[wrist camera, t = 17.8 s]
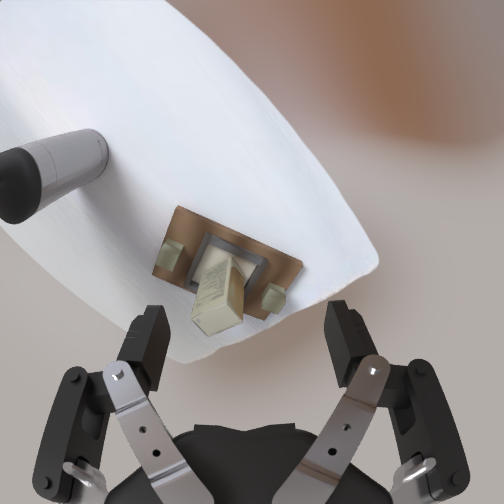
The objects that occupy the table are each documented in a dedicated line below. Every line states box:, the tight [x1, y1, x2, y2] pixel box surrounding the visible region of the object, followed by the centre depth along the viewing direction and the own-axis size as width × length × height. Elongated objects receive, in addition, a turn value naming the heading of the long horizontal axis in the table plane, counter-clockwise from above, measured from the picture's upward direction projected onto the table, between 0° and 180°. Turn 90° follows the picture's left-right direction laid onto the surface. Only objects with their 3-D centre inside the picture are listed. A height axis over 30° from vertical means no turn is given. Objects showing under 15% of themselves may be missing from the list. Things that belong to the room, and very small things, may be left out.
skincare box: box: [191, 257, 245, 337], centre depth 42 cm, size 6×4×12 cm
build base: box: [152, 206, 303, 321], centre depth 46 cm, size 23×14×6 cm, turn 64°
